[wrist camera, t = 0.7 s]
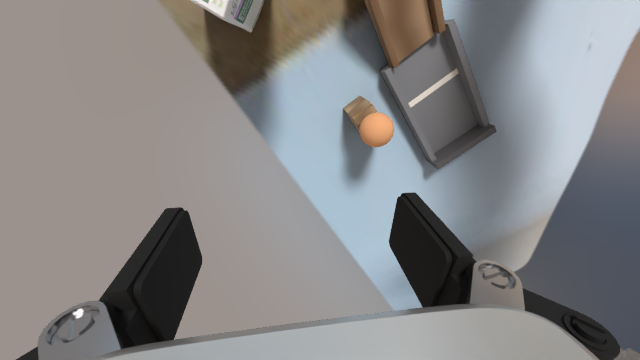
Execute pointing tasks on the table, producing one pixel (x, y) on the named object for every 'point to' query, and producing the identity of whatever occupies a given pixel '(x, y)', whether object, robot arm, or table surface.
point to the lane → (440, 97)
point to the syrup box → (234, 11)
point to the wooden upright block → (359, 110)
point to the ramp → (405, 25)
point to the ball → (376, 129)
